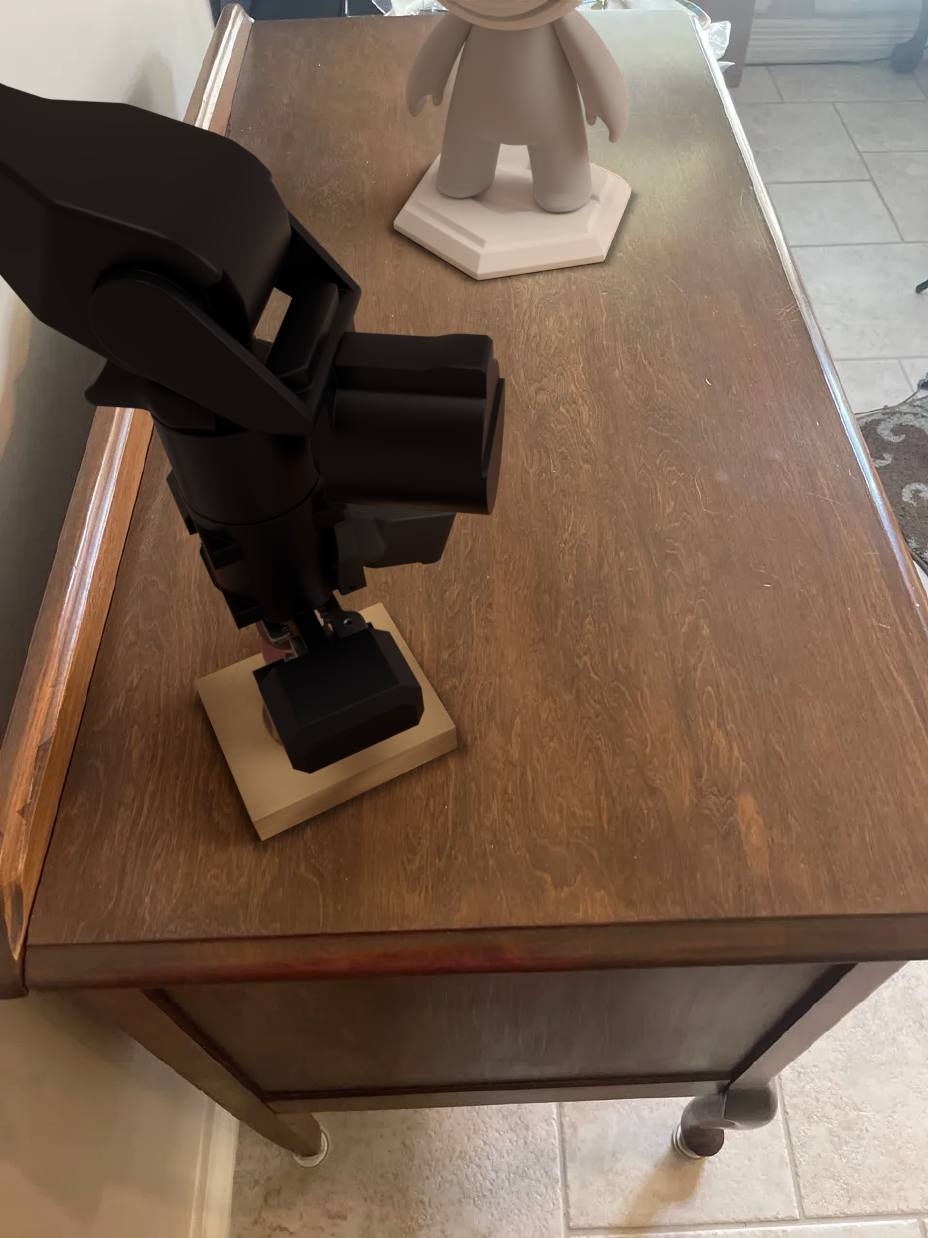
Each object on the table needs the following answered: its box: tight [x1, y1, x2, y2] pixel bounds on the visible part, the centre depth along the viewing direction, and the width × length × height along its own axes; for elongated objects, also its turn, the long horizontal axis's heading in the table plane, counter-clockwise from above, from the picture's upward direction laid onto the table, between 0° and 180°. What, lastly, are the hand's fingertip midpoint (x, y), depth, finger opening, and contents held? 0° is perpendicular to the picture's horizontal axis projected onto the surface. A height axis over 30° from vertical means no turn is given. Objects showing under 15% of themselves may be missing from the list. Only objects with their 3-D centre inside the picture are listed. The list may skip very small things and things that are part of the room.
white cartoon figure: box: [393, 0, 632, 281], centre depth 73 cm, size 20×23×35 cm
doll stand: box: [193, 601, 458, 842], centre depth 53 cm, size 12×10×2 cm
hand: (314, 679), depth 50 cm, fingers closed on doll, 4 cm apart
